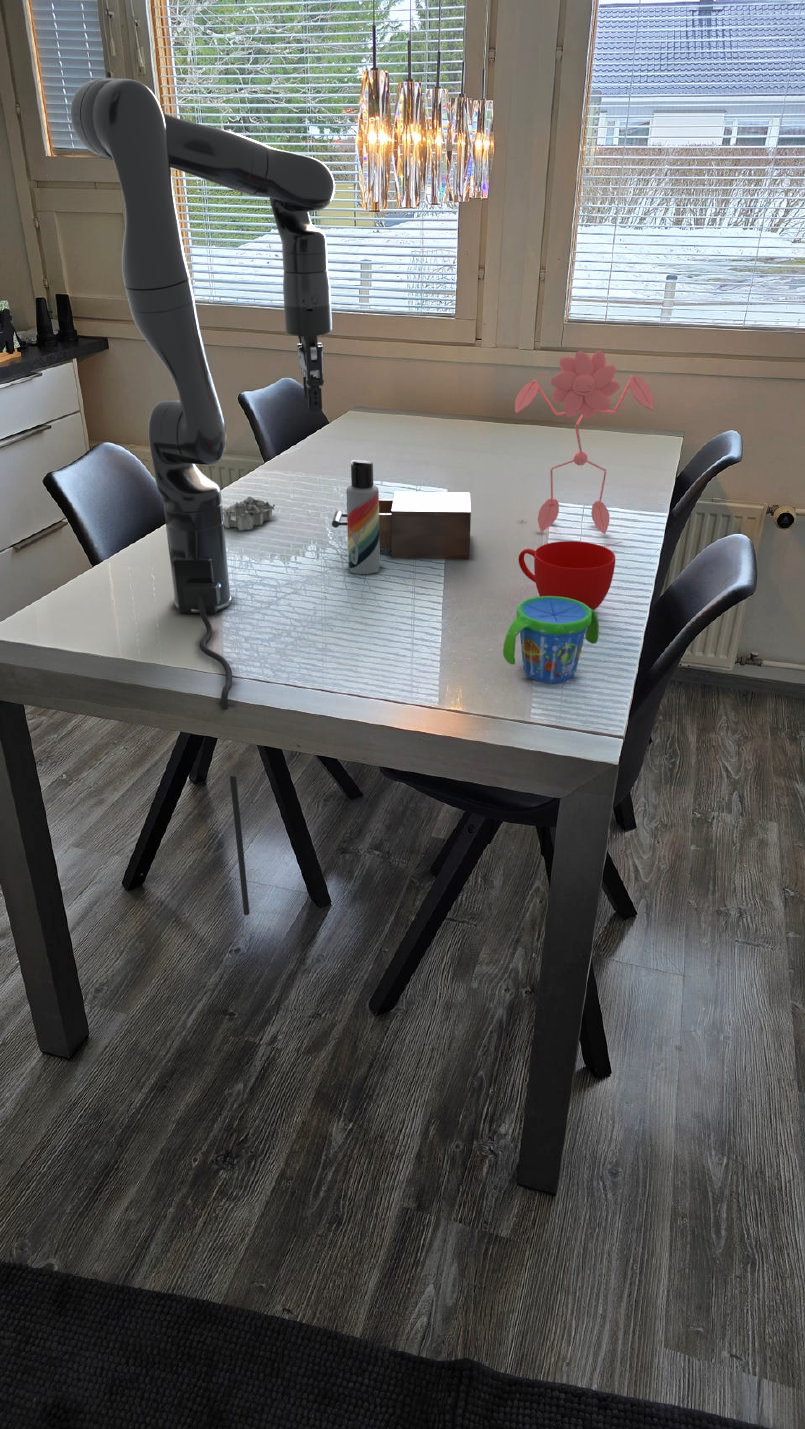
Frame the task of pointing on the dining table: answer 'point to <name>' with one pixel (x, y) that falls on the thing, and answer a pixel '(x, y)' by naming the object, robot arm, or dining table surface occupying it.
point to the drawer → (384, 522)
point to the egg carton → (247, 514)
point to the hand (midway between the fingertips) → (313, 404)
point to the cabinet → (431, 525)
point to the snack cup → (551, 636)
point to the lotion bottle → (363, 519)
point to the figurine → (583, 413)
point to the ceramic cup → (571, 571)
